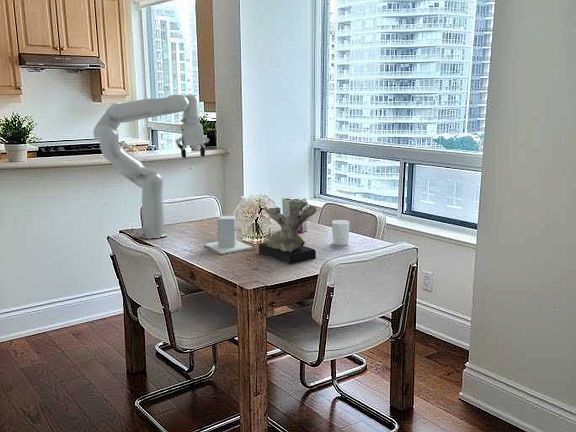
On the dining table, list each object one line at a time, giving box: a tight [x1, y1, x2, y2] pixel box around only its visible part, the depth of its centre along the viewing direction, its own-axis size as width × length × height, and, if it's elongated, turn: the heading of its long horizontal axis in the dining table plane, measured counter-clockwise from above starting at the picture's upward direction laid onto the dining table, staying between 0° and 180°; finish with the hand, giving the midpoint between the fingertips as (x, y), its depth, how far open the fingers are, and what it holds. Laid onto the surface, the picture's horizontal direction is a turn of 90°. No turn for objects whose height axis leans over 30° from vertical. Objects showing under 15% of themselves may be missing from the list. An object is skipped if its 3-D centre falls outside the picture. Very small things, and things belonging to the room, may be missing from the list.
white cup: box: [331, 219, 351, 246], centre depth 254 cm, size 8×8×10 cm
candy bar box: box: [281, 196, 308, 234], centre depth 278 cm, size 11×5×16 cm, turn 61°
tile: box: [203, 239, 253, 255], centre depth 251 cm, size 15×17×1 cm
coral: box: [258, 201, 318, 265], centre depth 239 cm, size 25×20×22 cm
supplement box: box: [216, 215, 238, 247], centre depth 250 cm, size 7×7×13 cm
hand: (193, 157), depth 277 cm, fingers open, 9 cm apart
